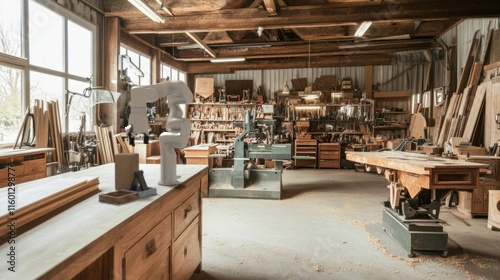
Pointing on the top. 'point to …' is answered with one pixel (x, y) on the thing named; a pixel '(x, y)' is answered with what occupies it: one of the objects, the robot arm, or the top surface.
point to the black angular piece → (139, 177)
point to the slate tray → (143, 193)
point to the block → (125, 169)
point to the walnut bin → (114, 196)
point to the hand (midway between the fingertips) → (139, 144)
